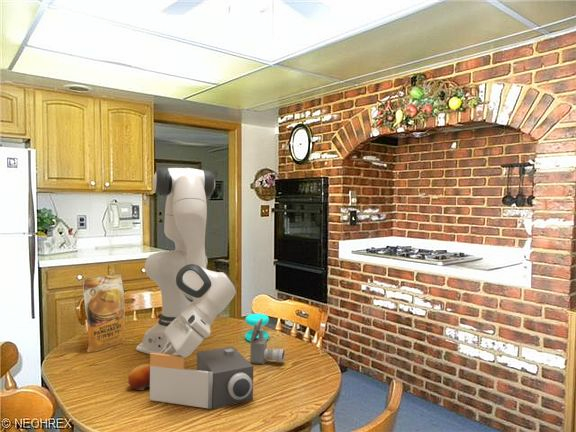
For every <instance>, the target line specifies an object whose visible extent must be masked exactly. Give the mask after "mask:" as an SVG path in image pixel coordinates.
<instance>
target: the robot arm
mask: <svg viewBox="0 0 576 432" xmlns="http://www.w3.org/2000/svg"><path fill="white" fill-rule="evenodd" d="M152 186H153V189H154V192H155V193H156V195H158V196H160V197H164V198H165V197H166V200H165V208H164V209H165V210H164V224H163V225H164V226H163V228H164V229H163V232H164V235H165V236H166V238H167V239H169V240H170V241H172V242H174V246H175V248H174V249H173V250H163V251H158V252H155V253H153V254H149V256H148V257H147V258H146V260H145V263H144V271H145V274H146V276H147V277H148V278H149V279H151V280H152V281H153V282H155V284H156V285H157V287H158V289H159V291H160V295H161V303H162V304H161V313H159V315H156V316H155V317H156V318H155V320H158V321H157V323H155V324H154V325H153V326H151V327H150V328H149V329H148V330H146V332H145V333H144V336H143V338H142V342H140V343H139V344H138V345H137V346H136V349H135V350H136V351H138V352H141V353H143V354H144V353H145V354H148V355H150V354H151V353H159V354H167V355H176V356H182V357H183V358H185V359H186V358H187V357H189V356H190V355H191V354H193V353H194V351H196V350H197V348H198V347H199V346H201V344H202V342H203V341H204V339H207V338H209V336H210V335H211V325H212V324H213V322H215V320H216V317H217V316H218V315H220V313H222V312H223V311H224V310H225V309H226V307H228V305H229V304H230V303H231V301H232V300H233V298H234V297H235V295H236V293H237V287H236V285H235V283H234V282H233V280H232V279H231V278H230V276H229V275H228V274H227V273H226V272H222V271H221V272H219V271H214V270H210V269H208V257H207V254H206V244H205V243H206V242H205V241H206V228H207V216H208V209H207V208H208V206H207V205H208V203H207V198H210V197H211V196H212V195H213V193H214V191H215V188H216V179H215V176H214V174H213V172H212V171H210V170H206V169H199V168H198V169H197V168H192V167H158V169H156V170H155V173H154V175H153V177H152Z"/></svg>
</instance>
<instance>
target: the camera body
mask: <svg viewBox="0 0 576 432" xmlns="http://www.w3.org/2000/svg"><path fill="white" fill-rule="evenodd" d="M196 370H200V371H208V372H213V389H212V408H211V409H219V408H223V407H228V406H231V405H236V404H240V403H244V402H248V401H253V400H254V365H253V363H250V362H249V361H248V359H247V358H246V357H244V356H243V355H242V354H241V353H240V352H239V351H238V350H237V348H235V347H234V346H227V347H226V346H225V347H219V348H213V349H208V350H200V351H196Z"/></svg>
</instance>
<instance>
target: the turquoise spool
mask: <svg viewBox="0 0 576 432" xmlns="http://www.w3.org/2000/svg"><path fill="white" fill-rule="evenodd" d="M261 318H262V319H263V320H262V324H261V327H262V326H263V327H264V326H266V325H267V324H269V322H270V317H269V316H268V315H266V314H263V313H252V314H248V315H247V316H246V317H245V323H246V324H247V325H249V326H251V327H254V326H255V324H256V323H257V322H258V321H259V320H260V319H261ZM253 330H254V328H253V329H250V330H248V331H246V333H245V335H244V337H245V339H246V341H248V342H250V340H251V337H252V333H253ZM256 338H259V334H258V336H257V337H256ZM264 338H265V339H266V340H267V341H268V339H269V333H268V331H266V330H264Z"/></svg>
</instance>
